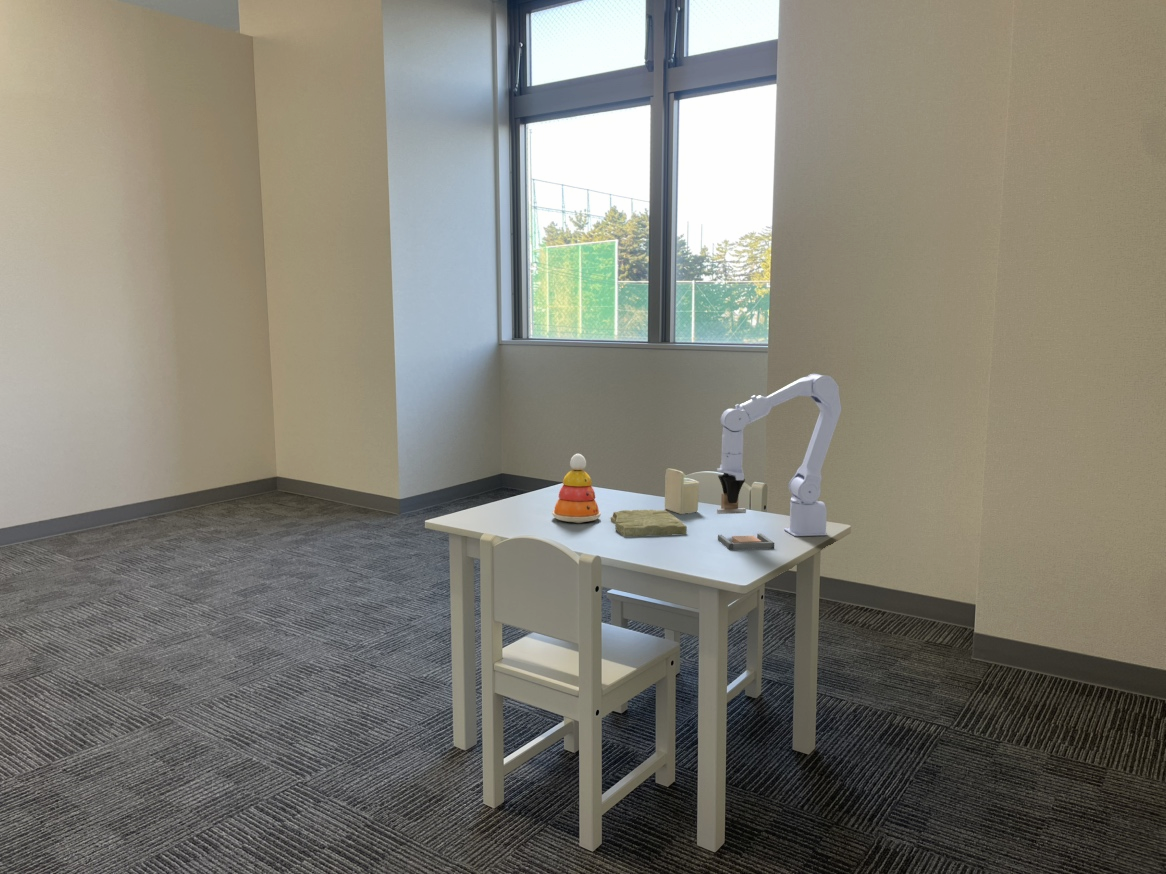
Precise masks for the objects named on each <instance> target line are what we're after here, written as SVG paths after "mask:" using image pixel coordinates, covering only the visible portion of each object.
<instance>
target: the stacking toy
mask: <svg viewBox="0 0 1166 874" xmlns="http://www.w3.org/2000/svg"><path fill="white" fill-rule="evenodd" d="M569 466H570V468H571V469H572V470H570V471H568V472H567V473H566V474H565V475H564V478H563V480H562V486H561V488H560V490H559V492H558V500H557V501H556V504H555V506H554V510H553V511H552V513H551V514H552V517H553V518H554V519H556V520H558V521H562V522H568V523H576V524H581V523H586V522H593V521H596V520H597V519H599V518H600V517H601V511H599V506H598V503H597V502H596V500H595V499H596V494H595V493H596V492H595V490H594V488H593V487H592V483H593V482H592V478H591V477H590V475H589V474H588V473H587V472H586V471H585V469H586V467H587V459H586V458H585V456H583V454H581V453H575V454H574V455H573V456H572V457H571V458H570V461H569Z"/></svg>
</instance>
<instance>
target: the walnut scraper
mask: <svg viewBox="0 0 1166 874" xmlns="http://www.w3.org/2000/svg"><path fill="white" fill-rule="evenodd" d="M720 504H721V505H720V507H721V508H717V509H716V514H717V515H722V514H723V515H731V514H735V515H736V514H746V513H747V509H746V508H745V507H742V508H739V496H738V499H737V503H729V502H728V497H727V493H723V492H722V493H721V502H720Z"/></svg>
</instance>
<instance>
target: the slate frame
mask: <svg viewBox="0 0 1166 874" xmlns="http://www.w3.org/2000/svg"><path fill="white" fill-rule="evenodd" d="M756 538H758V539H759V540H761V541H762V542H751V543H732V541H731V540H729V539H728V538H727V537H726V536H724V535H723V534H717V542H719V543H720V542H721V543H722V544H721V543H720V544H721V545H723V546H724V547H725V546H726V547H727V548H726V547H725V548H726V549H728V550H729V551H736V550H737V551H740V550H771V549H772V550H773V549H775V542H774V541H773V540H771V539H770V538H768V537H767V536H765V535H764V534H762V533H757V534H756Z"/></svg>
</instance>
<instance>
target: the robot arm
mask: <svg viewBox="0 0 1166 874" xmlns="http://www.w3.org/2000/svg"><path fill="white" fill-rule="evenodd" d="M839 390H840V387H839V385H838V384H837V382H836V380H835V379H834V378H833V377H832V376H830V375H826V374H825V375H822V374H819V373H811V374H808V375H807V376H804V377H800V378H798V379H797V380H795V381H792V382H791V383H789V384H787V385H785V386H784V387H782V388H780V389H778V390H777V391H774V392H772V393H771V394H769V395H767V396H763V395H756V394H753V395H752V396H750V399H749V400H747V401H745V402H742V403H740V404H739V403H737V404H735V405H734V406H735V408H727V409H726V410H724V411H723V412H722V413H721V417H720V418H719V422H720V424H721V426H722V435H721V457H720V459H721V460H720V461H721V462H720V463H721V464H719V467H717V468H716V472H718V473H723V474H717V477H718V480H719V481H720V484H721V487H722V493H727V497H728V502H729V503H737V499H738V500H739V497H738V496H739V495H740V493H741V489H742V487H743V485H744V483H745V482H746V479H745V473H744V468H743V460H744V459H743V455H744V429H745V428H746V427H747V425H749V424H752V423H753V422H755V421H757V420H759V419H761V418H764V417H765V416H766V417H767V415H769V414H770V413H771V409H772V408H774V407H776V406H778V405H781V404H782V403H785V402H787V401H789V400H791V399H793V398H797V397H801V396H802V397H810V398H811V399H812V400H813V401H814V402H815V404H816V406H817V407H818V410H819V415H818V417H817V420H816V423H815V426H814V429H813V432H812V435H811V437H810V440H809V443H808V446H807V448H806V452H805V456H804V457H803V460H802V464H801V465H800V466H799V467H798V468H797V470H796V473H795V474H794V475H793V477H792V478H791V479H790V481H789V482H788V491H789V492H790V494H791V498H790V508H789V511H790V512H789V527H784V528H783V530H784V531H786V532H787V533H789V534H791V535H792V536H794V537H808V536H809V537H811V536H828V533H827V518H828V516H827V515H828V514H827V513H828V511H827V506H826V503H825V502H824V501H821V500H819V498H820V496H821V492H822V489H821V483H822V481H823V478H822V468H823V465H824V462H825V459H826V456H827V453H828V450H829V448H830V444H831V441H832V439H833V436H834V433H835V430H836V428H837V424H838V422H839V418H840V415H841V413H842V404H841V399H840V391H839ZM818 500H819V501H818Z"/></svg>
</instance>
